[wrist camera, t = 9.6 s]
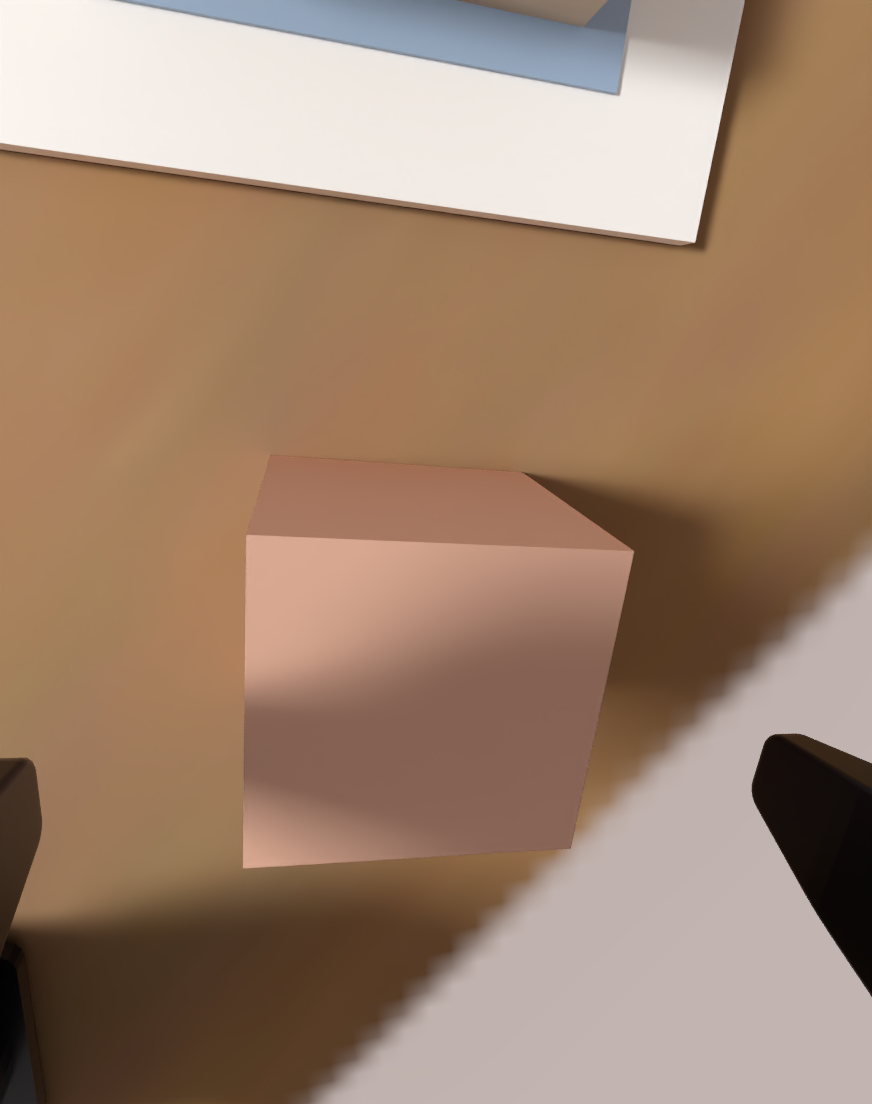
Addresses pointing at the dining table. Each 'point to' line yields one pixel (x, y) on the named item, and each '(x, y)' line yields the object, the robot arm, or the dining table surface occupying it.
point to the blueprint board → (387, 101)
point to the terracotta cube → (419, 661)
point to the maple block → (548, 9)
